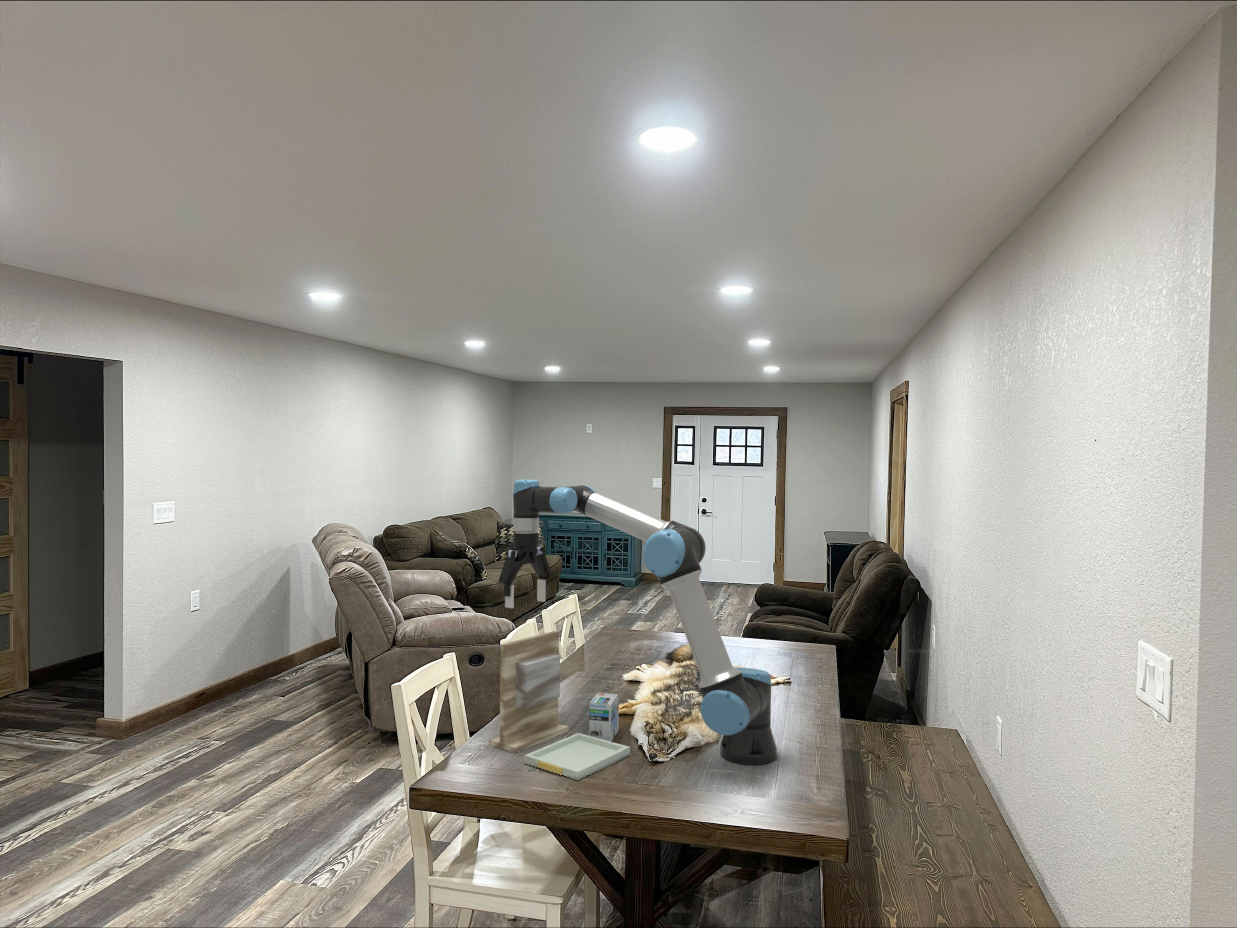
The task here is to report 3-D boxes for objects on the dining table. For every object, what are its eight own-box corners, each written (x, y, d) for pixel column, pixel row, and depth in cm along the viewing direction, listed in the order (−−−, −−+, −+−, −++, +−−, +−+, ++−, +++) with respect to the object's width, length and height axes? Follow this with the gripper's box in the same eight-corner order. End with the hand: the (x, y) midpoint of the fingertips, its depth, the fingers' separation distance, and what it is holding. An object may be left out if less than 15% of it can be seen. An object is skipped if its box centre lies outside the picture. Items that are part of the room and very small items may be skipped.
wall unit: (568, 731, 235) (569, 633, 235) (515, 753, 217) (516, 647, 217) (542, 724, 241) (543, 629, 241) (489, 745, 223) (490, 642, 223)
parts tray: (629, 755, 217) (630, 746, 217) (576, 781, 199) (576, 772, 199) (578, 740, 227) (578, 732, 227) (523, 764, 209) (523, 755, 209)
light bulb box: (611, 742, 226) (611, 704, 226) (588, 740, 227) (588, 702, 227) (619, 730, 237) (619, 693, 237) (596, 728, 238) (597, 691, 238)
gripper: (545, 528, 249) (544, 597, 249) (486, 534, 229) (485, 608, 229) (563, 530, 245) (563, 600, 245) (505, 535, 225) (504, 611, 225)
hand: (525, 604), depth 237 cm, fingers open, 13 cm apart
